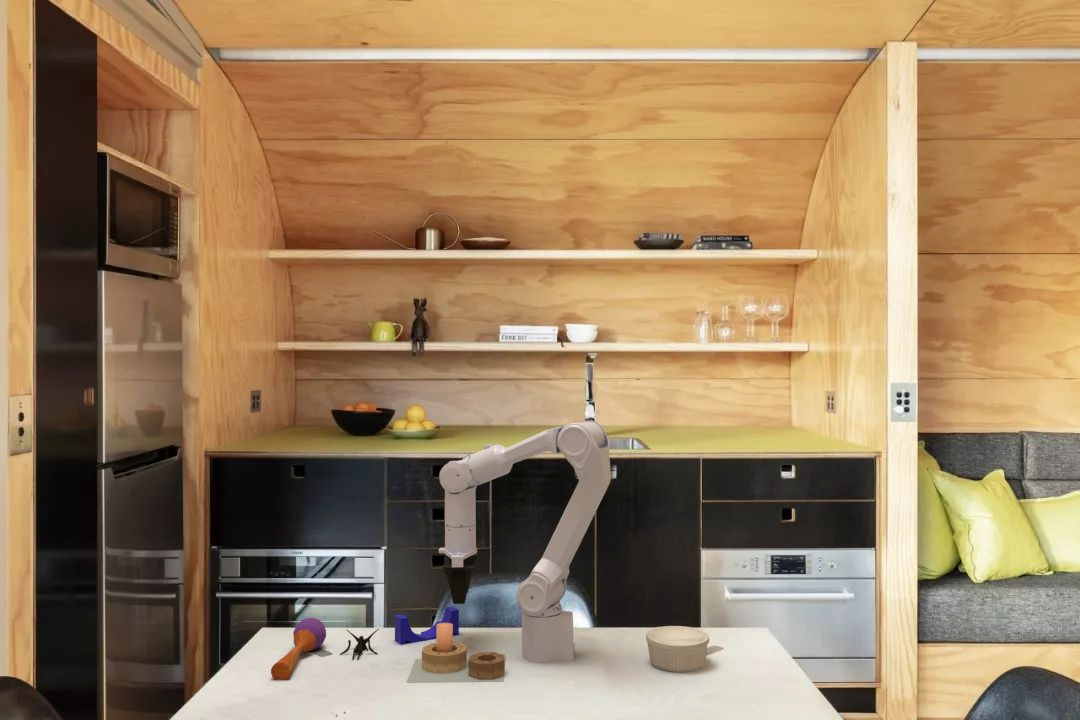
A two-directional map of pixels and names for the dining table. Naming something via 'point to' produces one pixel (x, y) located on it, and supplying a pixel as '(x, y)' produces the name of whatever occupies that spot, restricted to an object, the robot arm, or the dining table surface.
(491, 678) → the walnut bead
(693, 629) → the ramekin
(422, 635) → the blue curved cradle
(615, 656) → the dining table surface
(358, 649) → the creature
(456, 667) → the oak bead
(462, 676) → the board
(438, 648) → the orange rounded peg
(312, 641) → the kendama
